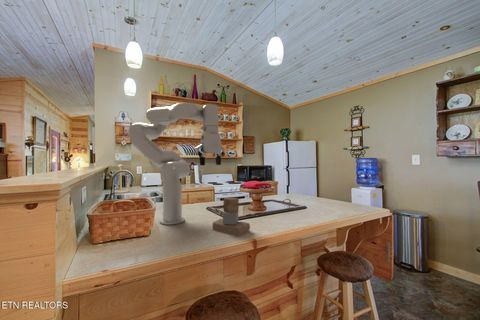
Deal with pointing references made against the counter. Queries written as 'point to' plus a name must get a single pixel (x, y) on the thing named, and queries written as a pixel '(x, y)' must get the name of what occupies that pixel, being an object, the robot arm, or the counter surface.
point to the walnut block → (231, 205)
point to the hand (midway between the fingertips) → (210, 165)
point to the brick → (232, 227)
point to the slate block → (230, 218)
